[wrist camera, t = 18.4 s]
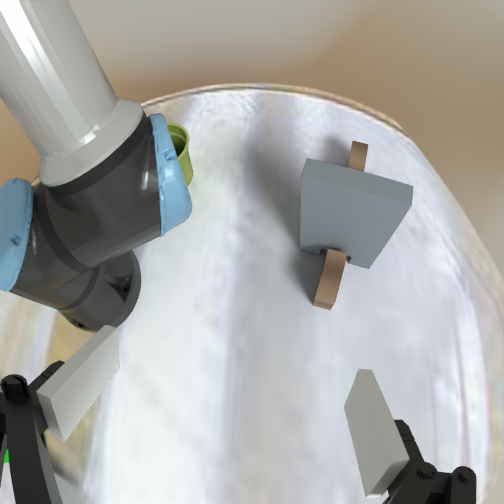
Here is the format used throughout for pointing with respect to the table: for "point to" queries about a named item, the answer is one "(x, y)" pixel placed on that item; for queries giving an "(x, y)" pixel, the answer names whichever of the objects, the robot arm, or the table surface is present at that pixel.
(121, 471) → the table surface
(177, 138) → the plant pot
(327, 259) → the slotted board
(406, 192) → the slotted plate
